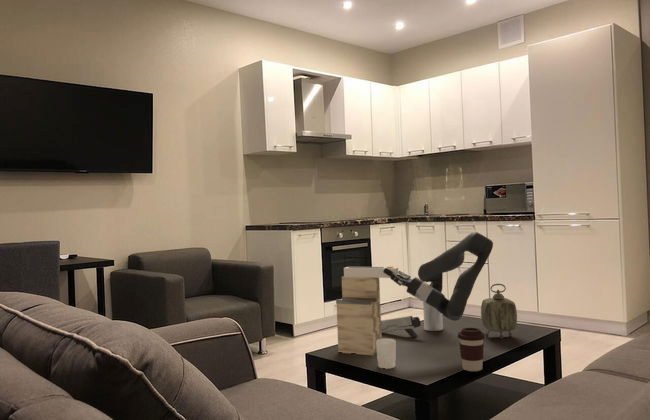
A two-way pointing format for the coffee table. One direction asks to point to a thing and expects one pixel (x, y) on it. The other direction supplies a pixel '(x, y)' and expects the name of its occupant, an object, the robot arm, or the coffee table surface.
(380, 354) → the white cup
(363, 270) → the power strip
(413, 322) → the gun
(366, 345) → the step shelf
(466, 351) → the coffee cup
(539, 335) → the coffee table surface
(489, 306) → the tabletop clock
